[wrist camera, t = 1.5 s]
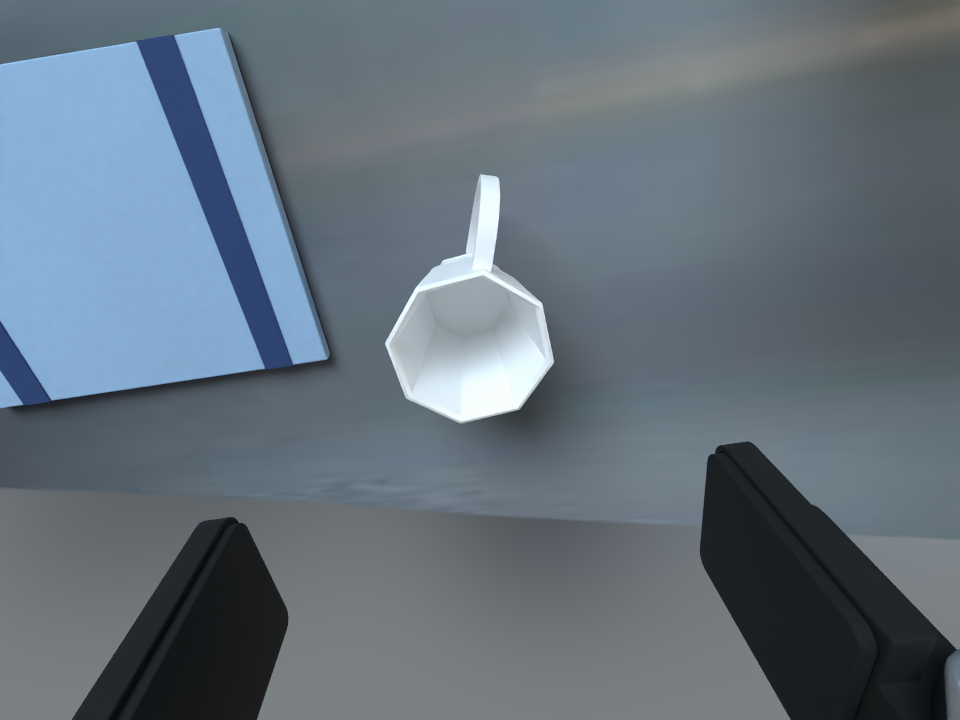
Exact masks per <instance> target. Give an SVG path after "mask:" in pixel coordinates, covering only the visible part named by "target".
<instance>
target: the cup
mask: <svg viewBox="0 0 960 720" xmlns="http://www.w3.org/2000/svg"><path fill="white" fill-rule="evenodd" d="M499 205H500V187H499V180H498V177H495V176H489V175H482V174H480V176H479V179H478V184H477V188H476V194H475V199H474V205H473V211H472V216H471V222H470V228H469V235H468V241H467V249H466V254H465V255H461V256H457V257H453V258H450V259H446V260H443V261H442V263H441V265H439V266H437V267H434V268H432V270H431V271H430V272H429V273H428V275H427V276H426V277H425V278H424V279H423V280H422V281H421V282H420V283H419V285H418V286H417V287H416V288H415V290H414V292H413V294H412V296H411V297H410V299H409V301H408V303H407V305H406V307H405V308H404V310H403V312H402V314H401V316H400V317H399V319H398V321H397V323H396V325H395V326H394V328H393V330H392V332H391V334H390V335H389V337H388V339H387V341H386V343H385V344H386V347H387V350H388V352H389V355H390V357H391V360H392V363H393V365H394V368H395V371H396V373H397V376H398V378H399V381H400V384H401V386H402V389H403V391H404V394H405V397H406V398H407V399H409V400H411V401H413V402H415V403H417V404H420V405H422V406H424V407H426V408H428V409H430V410H432V411H435V412H437V413H439V414H441V415H443V416H445V417H447V418H450V419H452V420H454V421H456V422H458V423H460V424H461V423H465V422H469V421H474V420H478V419H482V418H486V417H491V416H495V415H499V414H503V413H507V412H512V411H516V410H520V408H521V407H522V406H523V404H524V403H525V401H526V400H527V399H528V397H529V396H530V395H531V393H532V392H533V390H534V389H535V388H536V386H537V385H538V384H539V382H540V381H541V380H542V378H543V377H544V375H545V374H546V373H547V371H548V370H549V369H550V367H551V366H552V365H553V363H554V359H553V354H552V349H551V344H550V340H549V335H548V330H547V325H546V320H545V315H544V310H543V305H542V303H541V302H540V301H539V300H538V299H537V298H536V297H535V296H533V295H532V294H531V293H530V292H529V291H527V290H526V289H525V288H524V287H523V286H522V285H521V284H520V283H519V282H518V281H517V280H516V279H515V278H513V277H511V276H510V275H508V274H506V273H504V272H503V271H501V270H500V268H499V267H497V266H496V265H494V264H492V262H493V257H494V250H495V243H496V236H497V228H498V220H499Z"/></svg>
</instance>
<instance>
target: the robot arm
mask: <svg viewBox="0 0 960 720" xmlns="http://www.w3.org/2000/svg"><path fill="white" fill-rule="evenodd" d="M700 556H701V560H702V563H703V566H704V568H705V570H706V572H707V574H708V575H709V577H710V579H711V581H712V582H713V584H714V586H715V588H716V590H717V591H718V593H719V595H720V597H721V598H722V600H723V602H724V604H725V605H726V607H727V609H728V611H729V612H730V614H731V616H732V618H733V619H734V621H735V623H736V625H737V626H738V628H739V630H740V632H741V633H742V635H743V637H744V639H745V640H746V642H747V644H748V645H749V647H750V649H751V651H752V653H753V654H754V656H755V658H756V660H757V661H758V663H759V665H760V667H761V668H762V670H763V672H764V674H765V675H766V677H767V679H768V681H769V682H770V684H771V686H772V688H773V689H774V691H775V693H776V694H777V696H778V698H779V700H780V702H781V703H782V705H783V707H784V709H785V710H786V712H787V714H788V716H789V717H790V719H791V720H960V650H957V649H956V648H955V647H954V646H953V645H952V644H951V643H950V642H949V641H948V640H947V639H946V638H945V637H944V636H943V635H942V634H941V633H940V632H939V631H938V630H937V629H936V628H935V627H934V626H933V625H932V624H931V623H930V621H929V620H928V619H926V617H925V616H924V615H923V614H922V613H921V612H920V611H919V610H918V609H917V608H916V607H915V606H914V605H913V604H912V603H911V602H910V601H909V600H908V599H907V598H906V597H905V596H904V595H903V593H901V591H900V590H899V589H898V588H897V587H896V586H895V585H894V584H893V583H892V582H891V581H890V580H889V579H888V578H887V577H886V576H885V575H884V574H883V573H882V572H881V571H880V570H879V569H878V568H877V567H876V566H875V565H874V563H873V562H872V561H871V560H870V559H869V558H868V557H867V556H866V555H865V554H864V553H863V552H862V551H861V550H860V549H859V548H858V547H857V546H856V545H855V544H854V543H853V542H852V541H851V540H850V539H849V538H848V537H847V536H846V534H845V533H844V532H843V531H842V530H841V529H840V528H839V527H838V526H837V525H836V524H835V523H834V522H833V521H832V520H831V519H830V518H829V517H828V516H827V515H826V514H825V513H824V512H823V511H822V510H820V509H819V508H818V507H816V506H814V505H811V504H810V503H809V502H808V501H807V500H806V498H805V497H804V496H803V495H802V494H801V493H800V492H799V491H798V490H797V489H796V488H795V487H794V486H793V485H792V484H791V483H790V482H789V481H788V480H787V479H786V477H785V476H784V475H783V474H782V473H781V472H780V471H779V470H778V469H777V468H776V467H775V466H774V465H773V464H772V463H771V462H770V461H769V460H768V459H767V458H766V456H765V455H764V454H763V453H762V452H761V451H760V450H759V449H758V448H757V447H756V446H755V445H754V444H752V443H751V442H748V441H747V442H740V443H734V444H727V445H720V446H718V447H717V448H716V451H715V454H711V455H709V457H708V461H707V473H706V485H705V496H704V508H703V520H702V532H701V543H700ZM287 626H288V611H287V608H286V606H285V604H284V602H283V600H282V598H281V596H280V594H279V592H278V590H277V588H276V586H275V584H274V582H273V580H272V577H271V575H270V573H269V571H268V569H267V567H266V565H265V563H264V561H263V559H262V557H261V555H260V553H259V551H258V549H257V547H256V545H255V542H254V541H253V538H252V536H251V534H250V532H249V530H248V528H247V526H246V525H245V524H243V523H239V522H238V521H237V520H236V519H235V518H233V517H228V518H222V519H215V520H208V521H203V522H201V523H200V524H199V525H198V526H197V527H196V528H195V530H194V531H193V533H192V534H191V536H190V538H189V539H188V541H187V542H186V544H185V545H184V547H183V549H182V550H181V552H180V553H179V555H178V556H177V558H176V559H175V561H174V562H173V564H172V566H171V567H170V568H169V570H168V572H167V573H166V575H165V576H164V578H163V579H162V581H161V582H160V584H159V586H158V587H157V589H156V590H155V592H154V593H153V595H152V596H151V598H150V600H149V601H148V602H147V604H146V606H145V607H144V609H143V610H142V612H141V613H140V615H139V616H138V618H137V619H136V621H135V623H134V624H133V626H132V627H131V629H130V630H129V632H128V633H127V635H126V637H125V638H124V640H123V641H122V643H121V644H120V646H119V647H118V649H117V651H116V653H115V654H114V655H113V657H112V658H111V660H110V661H109V663H108V664H107V666H106V667H105V669H104V671H103V672H102V674H101V675H100V677H99V678H98V680H97V681H96V683H95V685H94V686H93V688H92V689H91V691H90V692H89V694H88V695H87V697H86V698H85V700H84V701H83V703H82V705H81V706H80V708H79V709H78V711H77V712H76V714H75V716H74V717H73V719H72V720H257V717H258V714H259V711H260V708H261V705H262V702H263V699H264V696H265V693H266V690H267V687H268V684H269V681H270V678H271V675H272V672H273V669H274V666H275V663H276V660H277V657H278V654H279V651H280V648H281V645H282V642H283V639H284V636H285V633H286V630H287Z"/></svg>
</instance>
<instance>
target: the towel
mask: <svg viewBox="0 0 960 720" xmlns="http://www.w3.org/2000/svg"><path fill="white" fill-rule="evenodd" d="M329 355H330V352H329V349H328V346H327V342H326V339H325V336H324V333H323V330H322V327H321V324H320V320H319V317H318V314H317V311H316V308H315V305H314V302H313V298H312V295H311V292H310V289H309V286H308V283H307V280H306V277H305V273H304V270H303V267H302V264H301V261H300V258H299V255H298V251H297V248H296V245H295V242H294V239H293V236H292V233H291V229H290V226H289V223H288V220H287V217H286V214H285V211H284V207H283V204H282V201H281V198H280V195H279V192H278V189H277V185H276V182H275V179H274V176H273V173H272V170H271V167H270V163H269V160H268V157H267V154H266V151H265V148H264V145H263V142H262V138H261V135H260V132H259V129H258V126H257V123H256V120H255V116H254V113H253V110H252V107H251V104H250V101H249V98H248V94H247V91H246V88H245V85H244V82H243V79H242V76H241V72H240V69H239V66H238V63H237V60H236V57H235V54H234V50H233V47H232V44H231V41H230V38H229V35H228V32H227V31H225V30H223V29H220V28H216V29H210V30H204V31H198V32H192V33H186V34H180V35H169V36H163V37H157V38H151V39H145V40H139V41H136V42H132V43H126V44H120V45H114V46H108V47H102V48H96V49H90V50H84V51H78V52H72V53H67V54H61V55H55V56H49V57H43V58H37V59H31V60H25V61H19V62H13V63H7V64H1V65H0V408H5V407H11V406H18V405H24V406H25V405H32V404H39V403H46V402H51V401H52V400H58V399H65V398H72V397H79V396H85V395H92V394H99V393H105V392H112V391H119V390H126V389H132V388H139V387H146V386H153V385H159V384H166V383H173V382H180V381H186V380H193V379H200V378H206V377H213V376H220V375H227V374H233V373H240V372H247V371H254V370H260V369H265V370H268V369H274V368H281V367H288V366H293V365H294V364H301V363H307V362H314V361H321V360H327V359H328V357H329Z"/></svg>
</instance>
